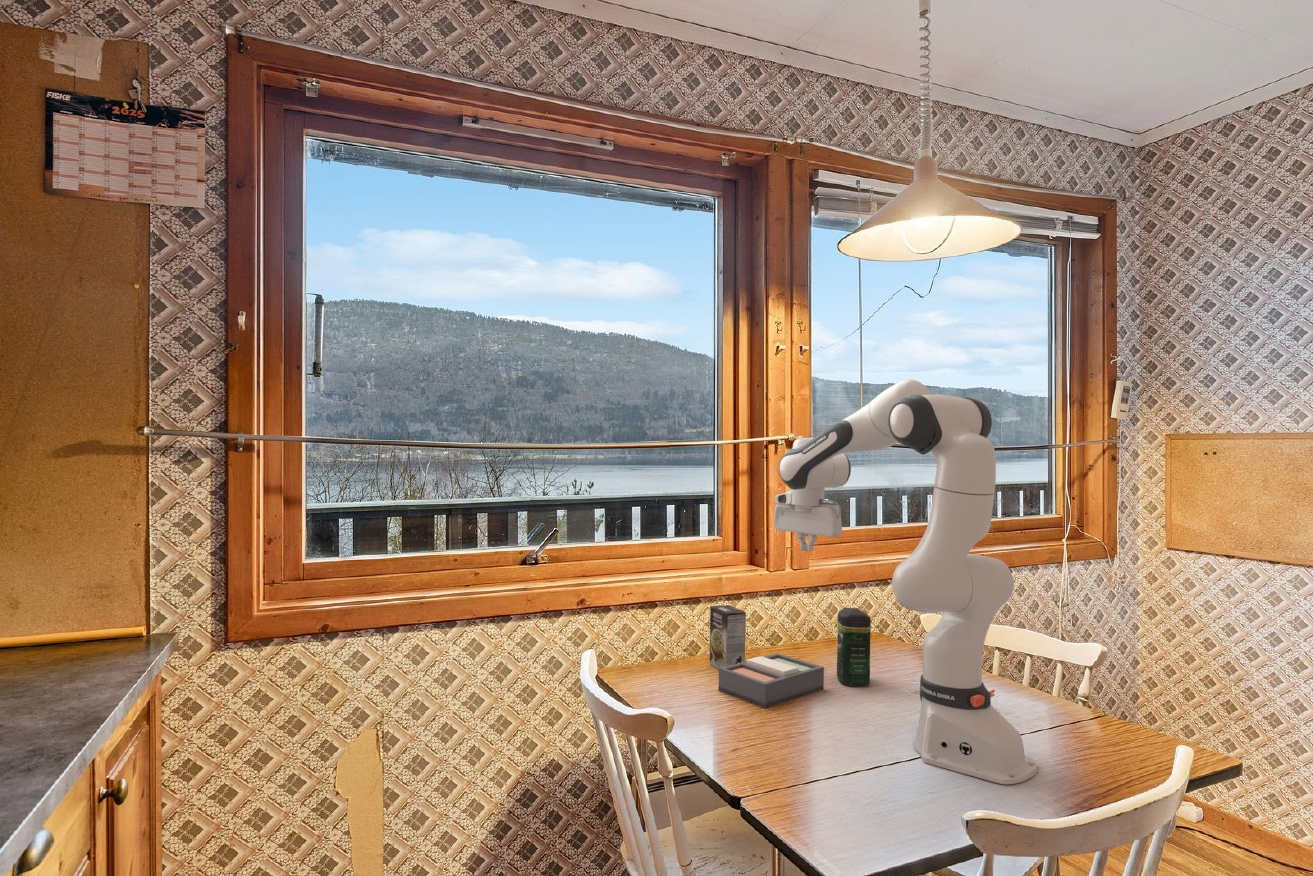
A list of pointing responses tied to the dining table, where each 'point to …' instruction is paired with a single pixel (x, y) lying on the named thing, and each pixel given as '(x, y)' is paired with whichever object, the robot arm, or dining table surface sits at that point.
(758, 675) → the orange rectangular block
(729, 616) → the coffee box
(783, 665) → the cream key
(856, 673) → the coffee jar
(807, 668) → the sage key
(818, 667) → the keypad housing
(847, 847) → the dining table surface
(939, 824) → the dining table surface
